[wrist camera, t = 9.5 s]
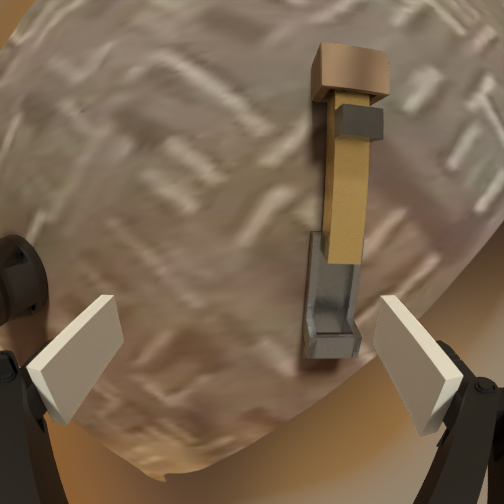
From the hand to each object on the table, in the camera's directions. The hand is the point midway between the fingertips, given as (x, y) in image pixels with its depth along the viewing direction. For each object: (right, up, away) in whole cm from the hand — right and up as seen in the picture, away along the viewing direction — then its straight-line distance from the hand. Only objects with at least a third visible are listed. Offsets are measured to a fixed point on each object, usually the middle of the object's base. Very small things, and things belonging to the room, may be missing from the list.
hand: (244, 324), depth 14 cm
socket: (+11, +24, +19) cm, 33 cm away
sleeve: (+11, -1, +26) cm, 28 cm away
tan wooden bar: (+11, +14, +21) cm, 27 cm away
